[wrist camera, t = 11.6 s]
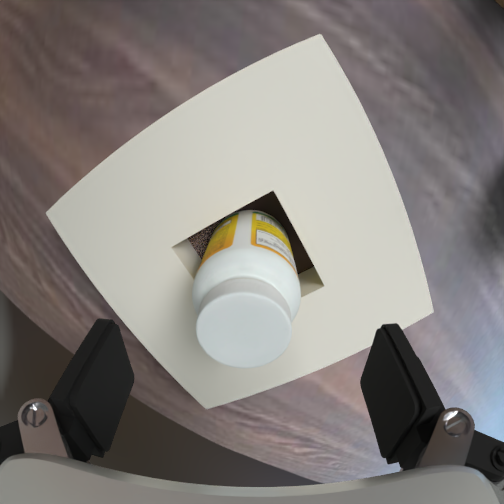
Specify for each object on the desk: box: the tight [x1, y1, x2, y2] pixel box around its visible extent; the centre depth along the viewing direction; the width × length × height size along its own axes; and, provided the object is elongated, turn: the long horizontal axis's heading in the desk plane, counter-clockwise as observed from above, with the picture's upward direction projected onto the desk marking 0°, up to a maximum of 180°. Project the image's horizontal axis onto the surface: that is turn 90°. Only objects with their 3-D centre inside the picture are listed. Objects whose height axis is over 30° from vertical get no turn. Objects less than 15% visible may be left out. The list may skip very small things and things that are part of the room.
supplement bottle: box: [192, 210, 301, 368], centre depth 17 cm, size 5×5×10 cm
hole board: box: [46, 34, 434, 409], centre depth 20 cm, size 20×20×3 cm
